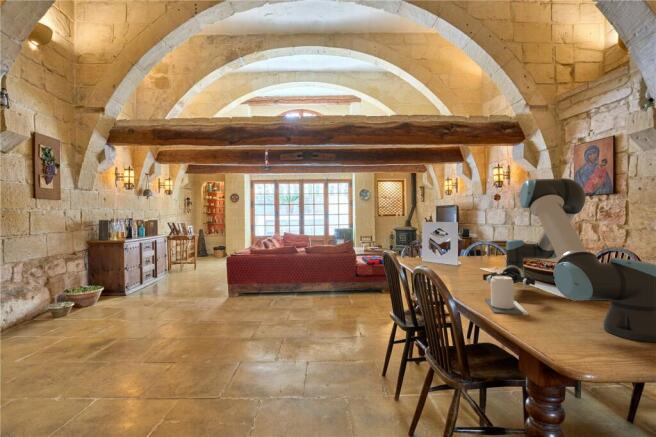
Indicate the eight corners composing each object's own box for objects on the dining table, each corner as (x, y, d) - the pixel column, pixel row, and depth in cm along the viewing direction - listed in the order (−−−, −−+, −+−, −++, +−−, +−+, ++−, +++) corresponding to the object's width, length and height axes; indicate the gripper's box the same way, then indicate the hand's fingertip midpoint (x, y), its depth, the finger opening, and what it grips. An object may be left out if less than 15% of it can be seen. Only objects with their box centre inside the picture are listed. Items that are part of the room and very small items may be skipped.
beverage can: (493, 309, 131) (493, 279, 130) (489, 303, 138) (488, 275, 138) (516, 310, 129) (516, 279, 128) (510, 304, 136) (510, 275, 136)
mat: (528, 315, 125) (528, 313, 125) (493, 313, 128) (493, 311, 128) (514, 301, 144) (514, 299, 144) (484, 299, 147) (484, 298, 147)
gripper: (543, 285, 150) (540, 295, 132) (483, 279, 164) (473, 288, 147) (543, 268, 149) (540, 276, 132) (483, 264, 164) (473, 271, 147)
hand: (505, 282), depth 140 cm, fingers open, 13 cm apart
